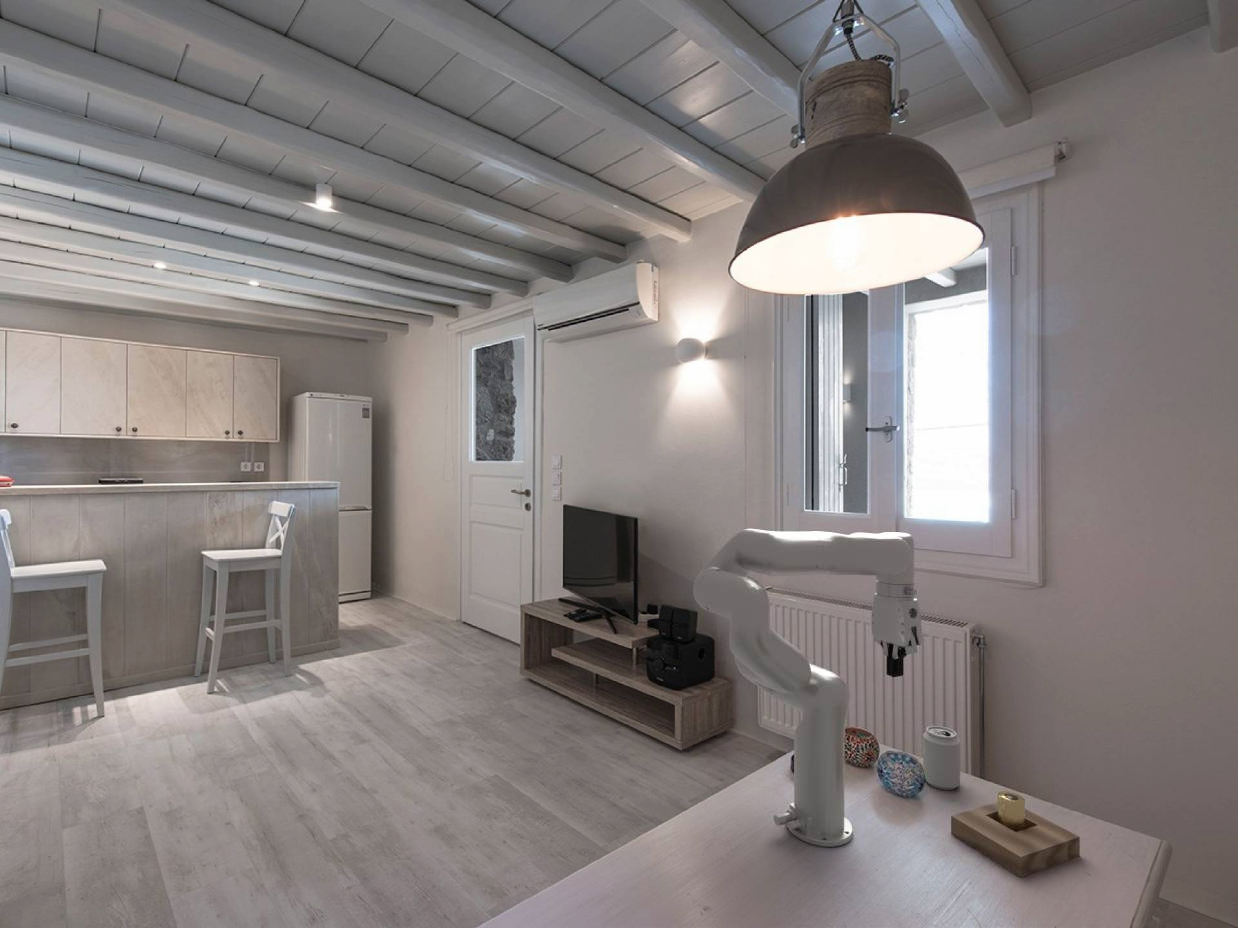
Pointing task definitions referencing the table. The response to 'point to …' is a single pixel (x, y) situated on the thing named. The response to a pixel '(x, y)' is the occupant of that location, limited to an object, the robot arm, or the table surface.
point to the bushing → (1011, 810)
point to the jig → (1016, 840)
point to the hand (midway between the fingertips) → (894, 675)
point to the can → (941, 757)
